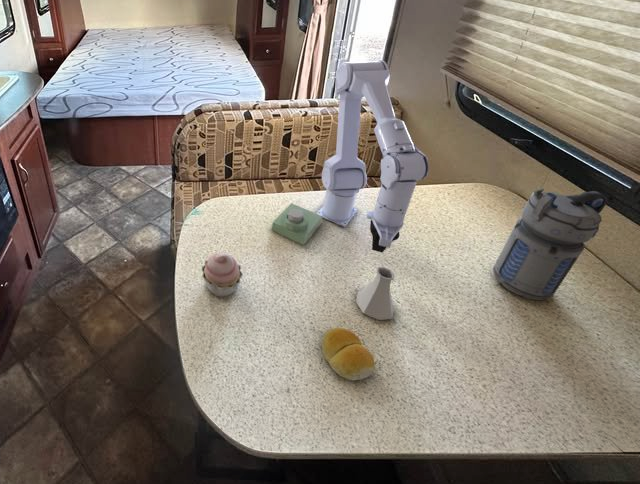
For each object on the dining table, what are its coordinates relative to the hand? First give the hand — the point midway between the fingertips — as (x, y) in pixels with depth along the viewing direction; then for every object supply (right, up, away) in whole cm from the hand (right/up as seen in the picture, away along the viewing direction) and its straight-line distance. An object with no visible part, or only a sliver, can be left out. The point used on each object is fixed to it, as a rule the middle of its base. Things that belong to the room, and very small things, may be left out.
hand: (377, 249), depth 85 cm
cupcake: (-36, -9, 0) cm, 37 cm away
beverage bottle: (+31, -7, -2) cm, 32 cm away
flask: (-4, -10, -6) cm, 13 cm away
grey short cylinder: (-14, +4, +14) cm, 20 cm away
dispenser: (-12, +1, +17) cm, 21 cm away
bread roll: (-15, -16, -15) cm, 27 cm away
